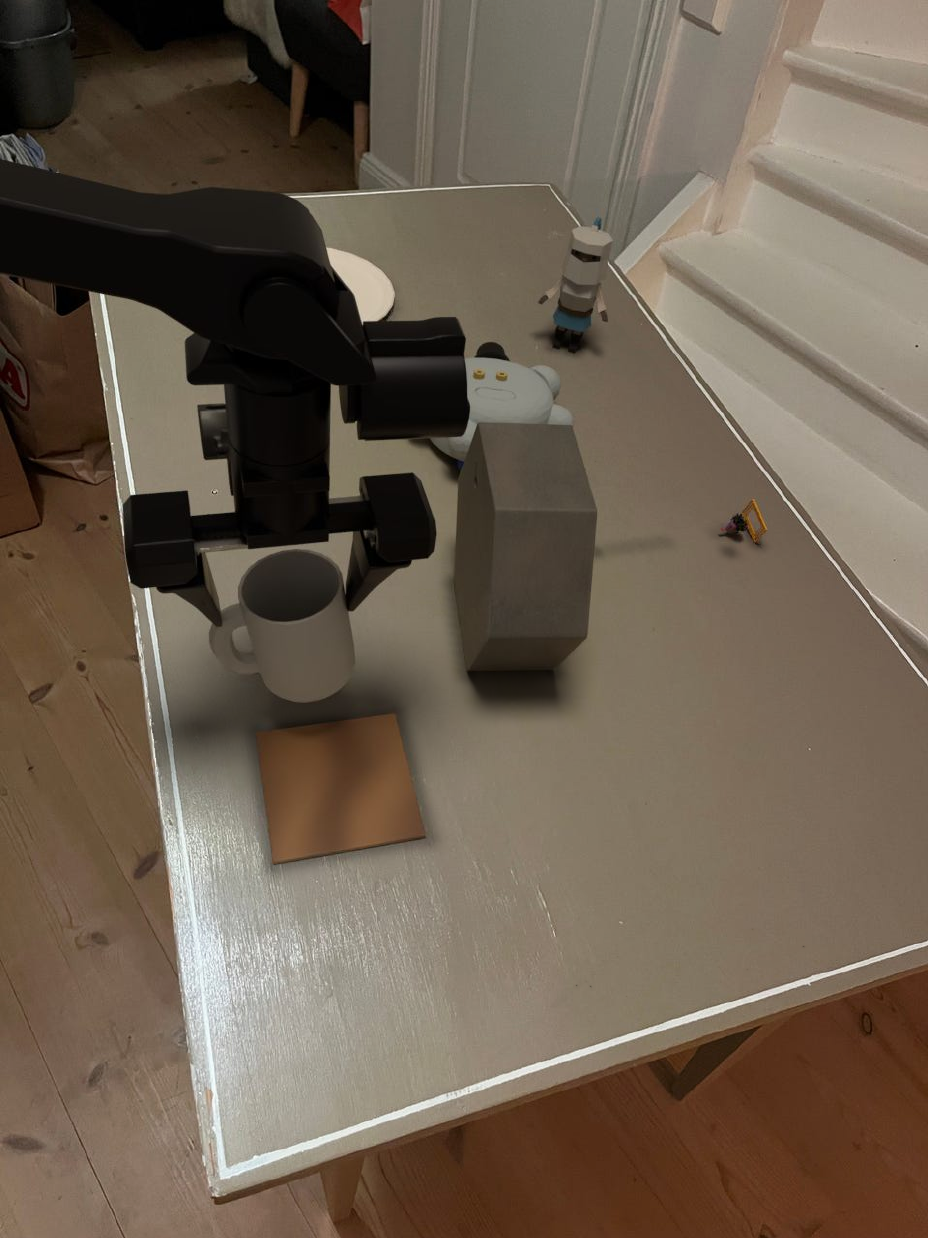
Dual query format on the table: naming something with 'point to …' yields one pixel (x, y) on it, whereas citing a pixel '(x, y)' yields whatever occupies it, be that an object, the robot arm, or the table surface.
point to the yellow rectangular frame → (746, 522)
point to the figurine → (505, 396)
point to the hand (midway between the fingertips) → (285, 614)
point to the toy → (580, 283)
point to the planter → (523, 547)
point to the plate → (364, 284)
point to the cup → (290, 626)
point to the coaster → (337, 788)
